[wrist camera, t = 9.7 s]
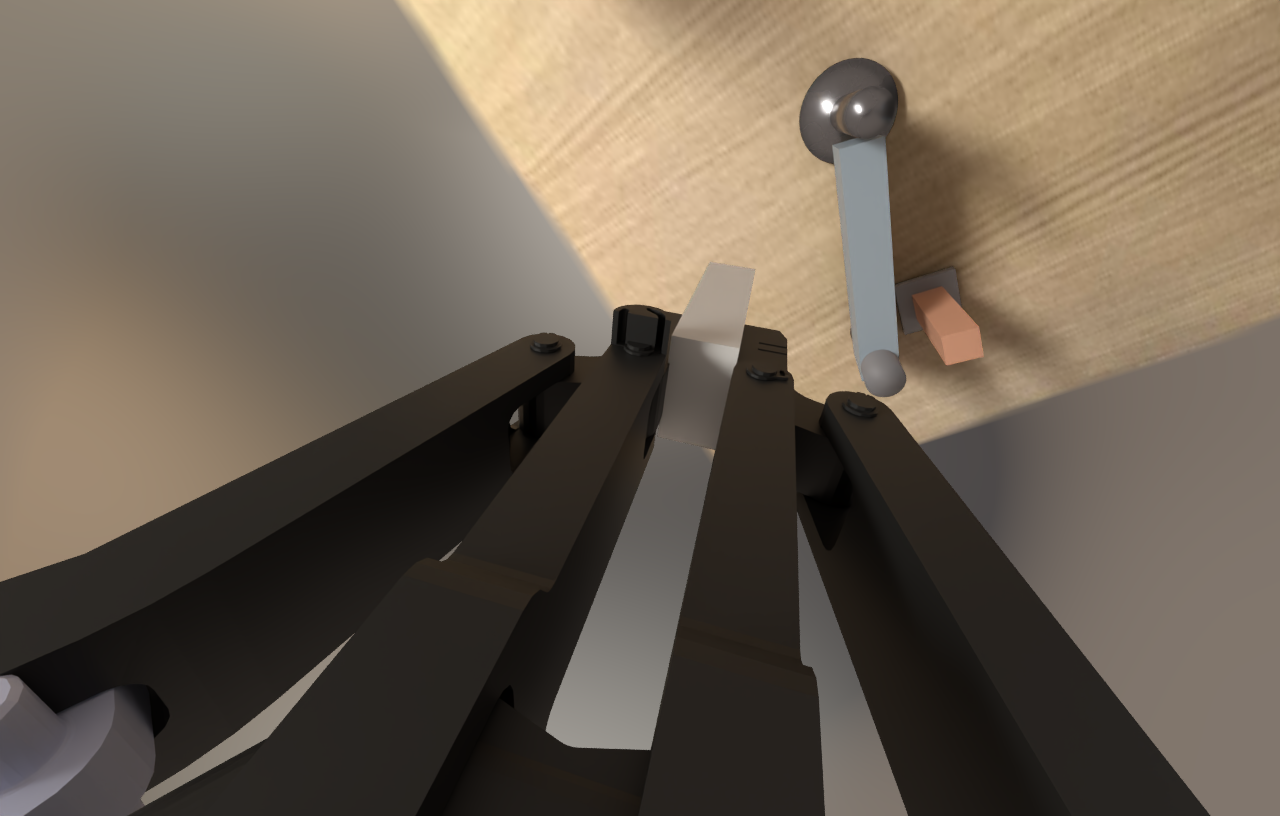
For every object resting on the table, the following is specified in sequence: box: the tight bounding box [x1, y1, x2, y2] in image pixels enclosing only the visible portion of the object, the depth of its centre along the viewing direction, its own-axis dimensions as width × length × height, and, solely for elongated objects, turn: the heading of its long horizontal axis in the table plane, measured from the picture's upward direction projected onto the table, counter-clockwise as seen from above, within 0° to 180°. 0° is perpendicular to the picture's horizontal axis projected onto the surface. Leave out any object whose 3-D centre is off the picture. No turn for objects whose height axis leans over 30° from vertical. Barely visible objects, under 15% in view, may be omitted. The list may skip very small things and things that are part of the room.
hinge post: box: [799, 58, 898, 164], centre depth 29 cm, size 6×6×11 cm
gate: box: [832, 135, 906, 397], centre depth 33 cm, size 15×2×9 cm, turn 17°
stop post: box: [895, 266, 984, 366], centre depth 34 cm, size 4×4×9 cm
